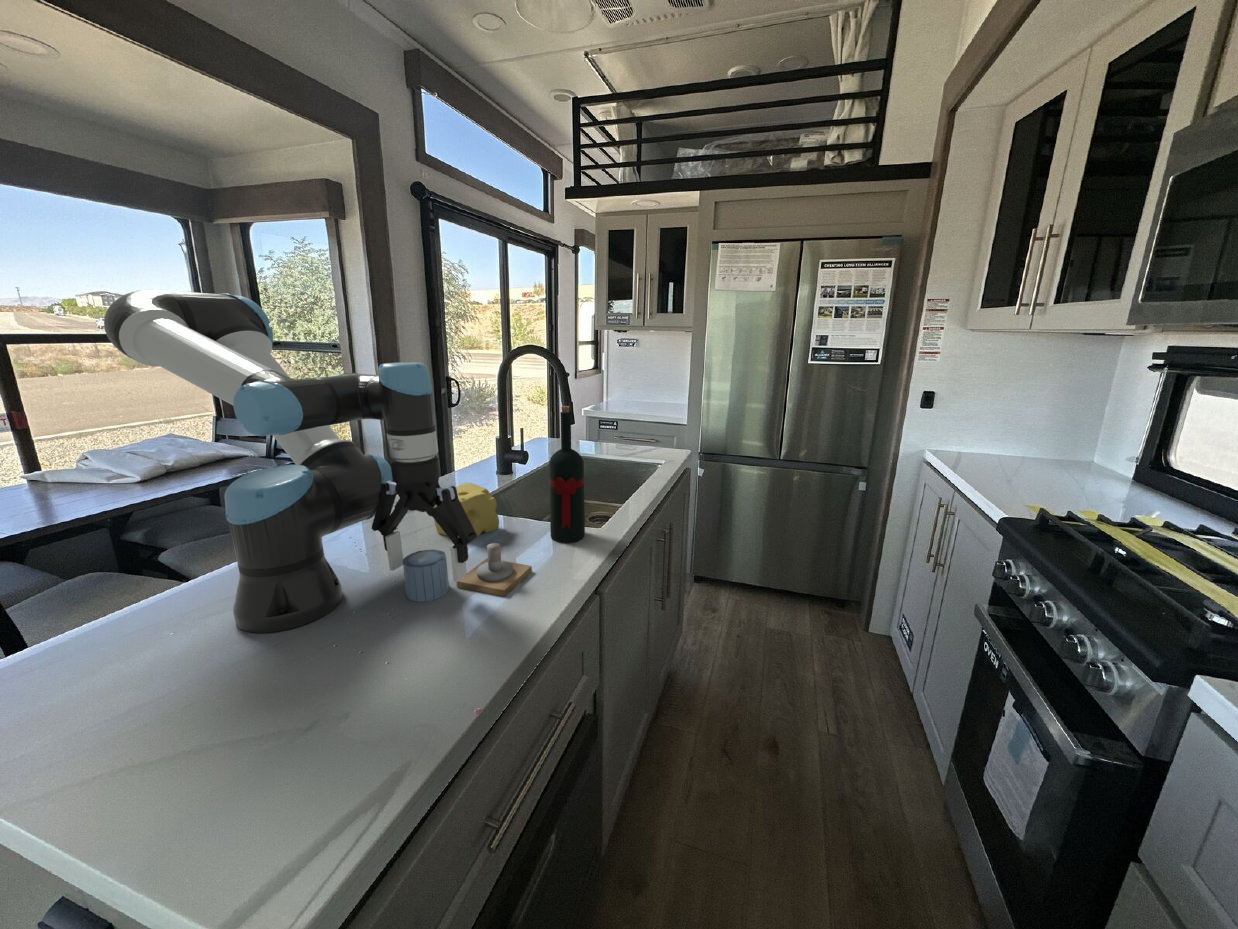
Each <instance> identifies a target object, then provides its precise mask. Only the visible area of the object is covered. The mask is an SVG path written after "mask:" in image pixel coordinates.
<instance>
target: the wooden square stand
mask: <svg viewBox="0 0 1238 929" xmlns="http://www.w3.org/2000/svg"><path fill="white" fill-rule="evenodd" d="M486 550H487V558H486V559H484V560H483V561H481V562H480V563H479V564H478V565H476V566H475V567H473V568H472V569H471V570H469V571H468V572H467V575H466V576H465V577H463V578H462V579H461V580H459V581H458V582H456V587H457V588H460V589H464V590H465V589H466V590H470V591H476V592H480V593H486V594H489V595H490V594H491V595H494V596H495V595H496V596H500V597H506V596H507V595H508V594H509V593H510V592H511V591H513V589H515V587H517V586H518V585H519V584H520V583H521V582H523V580H525V579H526V577H528V576H529V575H530V574H531V573H532V572H533V571H532V570H533V567H532V565H529V564H525V563H524V564H523V563H517V562H511V561H505V560H502V554H501V553H502V551H501V544H500V543H496V542H495V543H494V542H492V543H490V544H488V545H486Z"/></svg>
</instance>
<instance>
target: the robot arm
mask: <svg viewBox="0 0 1238 929" xmlns="http://www.w3.org/2000/svg"><path fill="white" fill-rule="evenodd" d="M270 324H271V321H270V318H269V317H268V315H267V314H266V312H265V311H264V310H263V309H262V307H260V305H259V304H258V303H257V302H255V301H253V300H251V299H250V298H248V297H245V296H241V295H235V294H230V293H226V292H217V293H210V292H209V293H207V292H195V291H181V290H180V291H179V290H178V291H177V290H163V289H153V288H152V289H139V290H136V291H131V292H129V293H126V294H123V295H121V296H120V297H118V298H117V299H115V300H114V301H113V302H112V303H111V304H110V305H109V307H108V308H107V309H106V311H105V315H104V319H103V326H104V327H103V328H104V332H105V334H106V336H107V338H108V340H109V341H110V343H111V344H112V345H113V346H114V347H115V348H116V349H117V350H118V351H119V352H120V353H122V355H123V354H124V356H127V357H128V358H129V359H132V360H134V361H135V362H137V363H140V364H142V365H145V366H149V367H150V366H151V367H160V368H162V369H163V370H166V371H168V372H170V373H172V374H174V375H176V376H177V377H179V378H181V379H183V380H185V381H186V382H188V383H190V384H192V385H193V386H196V387H198V388H200V389H201V390H204V391H205V392H207V393H209V394H211V396H212V395H213V396H215V397H217V398H218V399H220V400H222V401H223V402H226V403H228V404H229V405H232V406H233V410H234V414H235V416H236V419H237V421H238V423H239V424H242V425H243V428H244V429H245V431H246V432H248V433H249V434H251V435H253V436H258V437H266V436H267V437H268V436H272V437H273V438H274V440H276V442H277V443H278V444H279V445H280V446H281V448H282V449H283V450H284V451H285V453H286V454H287V455H288V457H289V458H290V459H291V460H292V462H293V463H294V464H283V465H279V466H276V467H272V466H271V467H267V468H263V469H259V470H256V471H253V472H250V473H248V474H245V475H243V476H241V477H239V478H237V479H235V480H234V481H233V482H231V483H230V484H229V485H228V487H227V488H226V490H225V492H224V506H225V508H224V509H225V515H224V516H225V518H226V521H227V522H228V527H229V532H230V535H231V536H230V538H231V541H232V546H233V550H234V554H235V559H236V563H237V566H238V572H239V579H238V583H237V588H236V593H235V601H234V603H233V607H232V608H233V609H232V611H233V612H232V613H233V617H234V621H235V625H236V626H237V628H239V629H240V630H242V631H244V632H249V633H258V634H261V633H263V634H264V633H274V632H280V631H285V630H291V629H295V628H298V627H301V626H303V625H307V624H310V623H311V622H314V621H316V620H318V619H320V618H322V617H324V616H326V615H328V613H330V612H331V611H333V610H334V609H335V608H336V607H337V606H339V604H340V603H341V601H342V599H343V590H342V589H343V588H342V584H341V580H339V578H338V576H337V575H336V573H335V571H334V569H333V568H332V567H331V565H330V563H329V562H328V560H327V559H326V556H325V553H324V552H325V551H324V546H323V537H325V536H327V535H329V534H330V535H331V534H332V533H335V532H339V530H342V529H345V528H348V527H350V526H354V525H355V524H358V523H361V522H363V521H366V520H370V519H372V518H373V521H372V524H371V529H372V531H374V532H376V531H378V532H379V533H380V535H382V538H383V539H382V540H383V545H384V546H383V547H384V550H385V552H387V558H388V560H387V561H388V566H389V567H388V568H389V571H392V572H394V571H395V570H398V569H399V568H400V567H403V559H404V554H403V545H402V537H401V531H400V530H399V531H398V529H399V527H398V526H399V525H400V523H401V522H402V521H403V519H404V517H405V516H406V515H407V513H408V512H409V511H410V512H411V511H417V512H421V513H426V514H427V515H428V516H429V517H432V518H433V520H434V519H435V521H436V522H437V523H438V524H439V526H440V527H441V528H442V530H443V531H444V532H445V533H446V535H447V537H448V539H449V540H450V541H451V542H452V545H450V547H449V548H450V549H449V550H450V560H451V570H452V579H453V582H454V583H457V582H458V581H459V580H461V579H462V578H463V577H465V576H466V575H467V573H468V572H467V564H466V563H467V562H466V561H468V560H469V546H468V545H469V544H471V542H473V541H475V540H476V539H477V538H478V536H477V534H476V532H475V530H474V528H473V526H472V524H471V522H470V520H469V518H468V516H467V515H466V513H465V511H464V509H463V507H462V505H461V503H460V501H459V499H458V494H457V489H456V486H455V485H450V486H448V487H442V486H441V485H440V483H439V480H440V477H441V466H440V458H439V456H438V455H436V454H438V452H439V446H438V437H437V430H436V423H435V412H434V411H435V410H434V400H433V399H434V398H433V385H432V382H431V381H432V380H431V376H430V371H429V368H428V366H427V364H425V363H423V362H415V361H413V362H411V361H410V362H386V363H381V364H380V365H379V367H378V374H371V373H370V374H369V373H368V374H367V373H358V372H348V373H345V372H344V373H337V374H334V375H332V376H321V377H319V376H318V377H307V378H306V377H305V378H292V377H290V375H288V373H287V371H285V369H284V368H283V367H282V366H281V365H280V363H279V362H278V361H277V360H276V358H275V357H274V356H273V355H272V350H273V342H274V330H273V328H272V327H271V326H270ZM359 420H360V421H361V420H362V421H363V420H375V421H376V420H378V421H385V422H384V424H385V433H386V437H387V438H386V439H387V445H388V446H387V447H388V453H389V457H390V458H392V459H391V461H389V463H390V464H389V463H388V461H387V460H386V459H385V458H384V457H383V456H382V455H379V454H376V453H371V452H370V453H369V452H368V453H366V454H364V453H363V452H362V451H361V449H360V448H359V447H358V446H357V445H356V443H355V442H353V441H352V440H348V439H341V438H339V436H338V435H337V434H336V432H335V431H334V429H332V427H331V426H332V425H339V424H344V423H350V422H355V421H356V422H357V421H359ZM397 496H398V497H399V499H398V501H397V502H396V503H395V500H396V497H397ZM440 497H441V498H440ZM394 503H395V505H394ZM435 504H436V505H437V507H435V508H433V507H434V506H435ZM393 507H394V509H393ZM392 510H393V511H392ZM435 521H434V522H435ZM446 535H445V536H446ZM458 536H459V538H458Z"/></svg>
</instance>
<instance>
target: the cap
mask: <svg viewBox="0 0 1238 929" xmlns="http://www.w3.org/2000/svg"><path fill="white" fill-rule="evenodd" d="M402 567H403V575H404V576H403V577H404V584H405V593H406V598H407V599H408V600H410V601H412V602H416V603H417V602H418V603H420V602H421V603H422V602H424V603H425V602H430V601H434V600H437V599H440V598H441V597H443V596H444V595H446V594H447V593H448V591H449V590H450V586H449V584H450V583H449V572H448V571H449V570H448V563H447V554H446V553H445V552H444V551H442V550H439V549H424V550H423V549H422V550H418V551H415V552H412V553H409V554H408V555H406V556H404V557H403V565H402Z"/></svg>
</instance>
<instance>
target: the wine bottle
mask: <svg viewBox="0 0 1238 929" xmlns="http://www.w3.org/2000/svg"><path fill="white" fill-rule="evenodd" d="M571 413H572V412H571V411H570V406H569V405H562V406H561V411H560V412H559V414H560V449H558V450H557V451H556V452H554V453H553V454H552V455H551V457H550V458H549V461H548V462H549V463H548V465H549V466H548V467H549V468H548V473H549V514H550V515H549V521H550V523H549V524H550V528H549V530H550V539H551V540H552V541H553V542H555V543H560V544H571V543H577V542H580V541H583V539H584V538H585V536H586V530H585V529H586V525H585V524H586V521H585V519H586V518H585V515H586V514H585V511H586V510H585V462H584V459H583V457H582V456H581V454H580V453H579V452H578V451H576V450H575V449H573V448H572V418H571V416H572V414H571Z"/></svg>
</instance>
